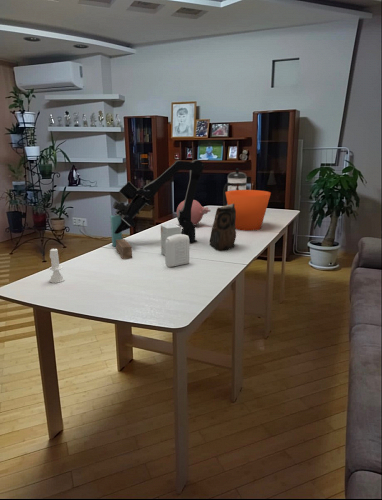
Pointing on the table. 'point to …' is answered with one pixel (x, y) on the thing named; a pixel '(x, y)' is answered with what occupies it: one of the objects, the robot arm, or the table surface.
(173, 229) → the small box
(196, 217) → the balloon
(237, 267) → the table surface
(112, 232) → the tall teal pillar
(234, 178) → the coffee press
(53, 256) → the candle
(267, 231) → the table surface
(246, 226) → the flowerpot
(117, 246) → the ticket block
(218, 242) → the owl
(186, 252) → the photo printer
